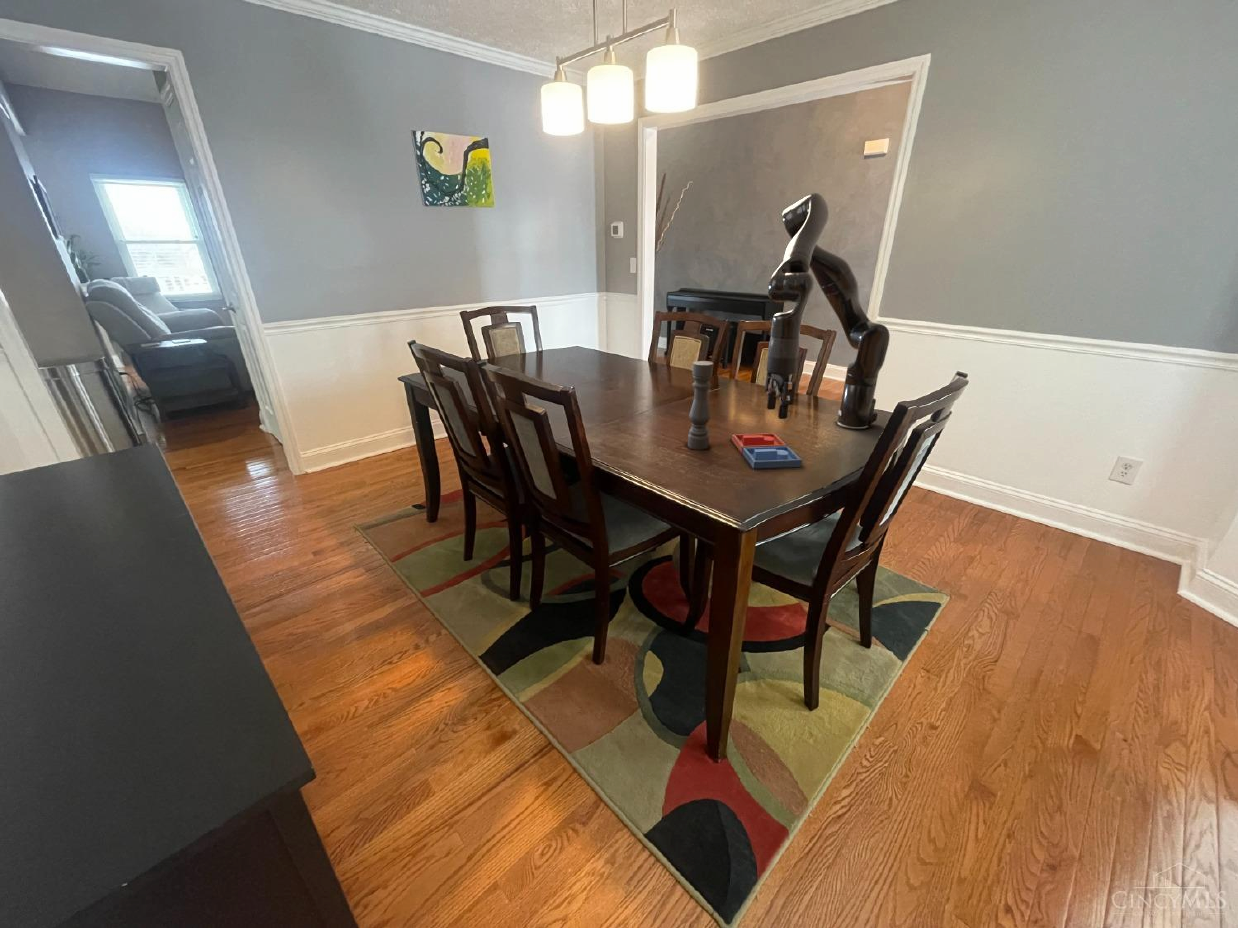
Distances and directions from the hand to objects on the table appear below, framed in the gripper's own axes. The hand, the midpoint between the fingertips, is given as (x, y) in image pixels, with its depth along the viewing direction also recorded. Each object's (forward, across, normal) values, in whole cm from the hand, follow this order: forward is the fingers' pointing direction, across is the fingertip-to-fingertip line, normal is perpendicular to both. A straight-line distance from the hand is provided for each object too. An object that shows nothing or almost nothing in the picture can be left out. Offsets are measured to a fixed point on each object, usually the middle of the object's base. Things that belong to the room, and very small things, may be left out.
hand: (776, 413), depth 134 cm
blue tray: (+13, -2, +1) cm, 13 cm away
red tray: (+13, +9, +1) cm, 15 cm away
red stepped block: (+12, +9, +1) cm, 15 cm away
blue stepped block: (+12, -2, +1) cm, 13 cm away
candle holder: (+13, +10, +19) cm, 25 cm away
